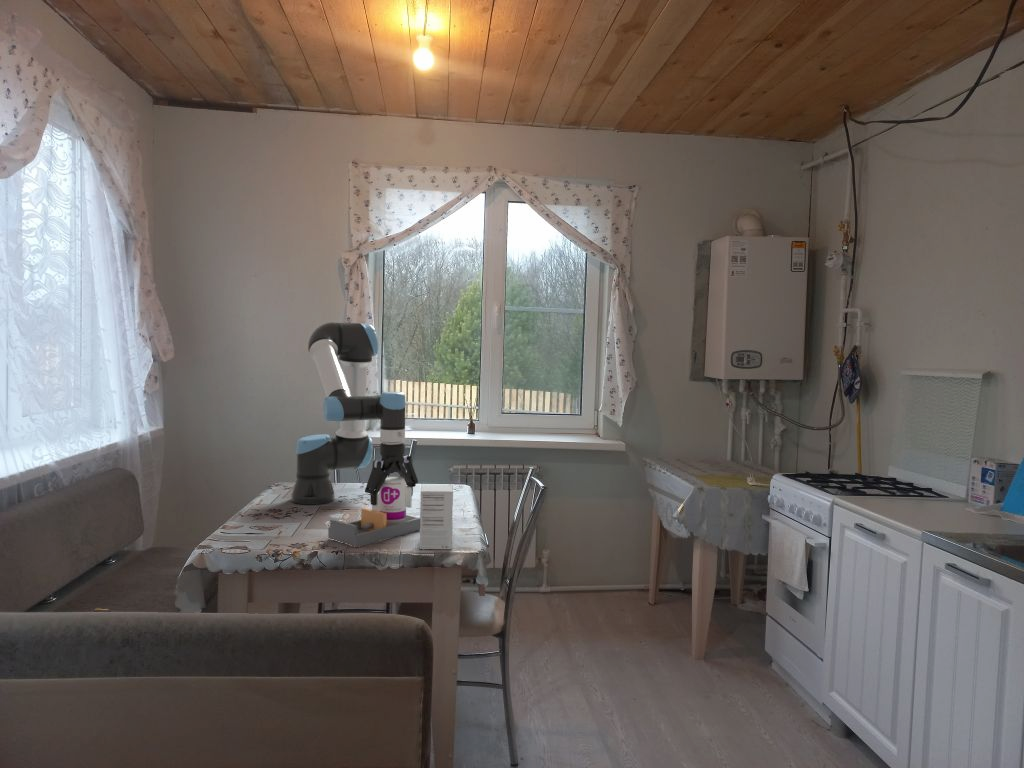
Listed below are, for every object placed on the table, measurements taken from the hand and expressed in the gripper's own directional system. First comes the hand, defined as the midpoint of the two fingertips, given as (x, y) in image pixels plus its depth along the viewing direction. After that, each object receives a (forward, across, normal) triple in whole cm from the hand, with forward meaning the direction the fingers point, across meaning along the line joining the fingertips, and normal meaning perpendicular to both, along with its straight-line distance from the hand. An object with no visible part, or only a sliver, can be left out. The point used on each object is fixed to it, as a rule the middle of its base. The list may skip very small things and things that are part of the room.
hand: (392, 511), depth 211 cm
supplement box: (+6, -2, -21) cm, 22 cm away
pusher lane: (+6, -6, 0) cm, 9 cm away
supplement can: (+5, 0, 0) cm, 5 cm away
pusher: (+4, -9, 0) cm, 10 cm away
